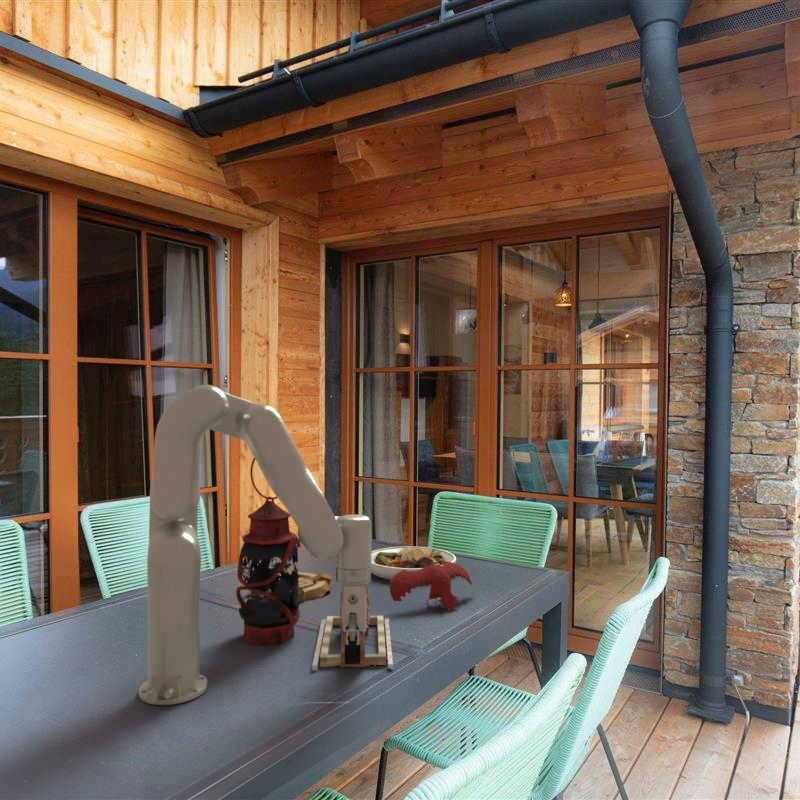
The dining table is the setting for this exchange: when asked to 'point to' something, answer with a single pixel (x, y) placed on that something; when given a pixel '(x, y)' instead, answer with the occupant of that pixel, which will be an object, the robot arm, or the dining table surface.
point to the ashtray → (309, 585)
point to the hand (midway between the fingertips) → (353, 654)
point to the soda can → (367, 611)
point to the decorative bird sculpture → (429, 574)
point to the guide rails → (320, 640)
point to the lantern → (269, 576)
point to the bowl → (406, 560)
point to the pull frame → (365, 659)
